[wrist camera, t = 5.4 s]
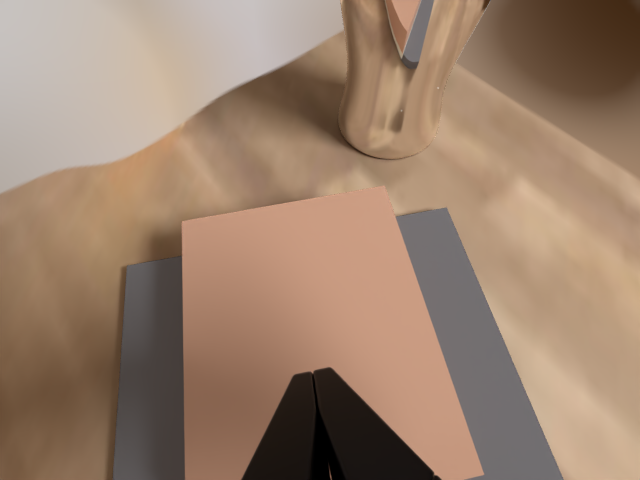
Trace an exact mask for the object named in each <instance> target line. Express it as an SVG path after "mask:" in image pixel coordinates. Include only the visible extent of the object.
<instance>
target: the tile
mask: <svg viewBox="0 0 640 480" xmlns="http://www.w3.org/2000/svg"><path fill="white" fill-rule="evenodd" d="M182 283H183V360H184V438H185V480H241V479H242V477H243V475H244V473H245V471H246V469H247V467H248V465H249V463H250V461H251V459H252V457H253V455H254V453H255V451H256V449H257V447H258V445H259V443H260V441H261V439H262V437H263V435H264V433H265V431H266V429H267V427H268V425H269V423H270V421H271V419H272V417H273V415H274V413H275V411H276V409H277V407H278V405H279V403H280V401H281V399H282V396H283V394H284V392H285V390H286V388H287V386H288V384H289V382H290V380H291V378H292V376H293V375H294V374H297V373H302V372H307V371H311V372H312V373H313V371H314V370H317V369H321V368H326V367H331V368H333V369H334V370H335V371H336V372H337V373H338V374H339V375H340V376H341V377H342V378H343V380H344V381H345V382H346V383H347V384H348V385H349V386H350V387H351V388H352V389H353V390H354V391H355V392H356V393H357V394H358V395H359V396H360V397H361V398H362V399H363V400H364V401H365V402H366V403H367V404H368V405H369V406H370V407H371V408H372V409H373V410H374V411H375V412H376V413H377V414H378V415H379V416H380V417H381V418H382V419H383V420H384V421H385V422H386V423H387V424H388V425H389V426H390V428H391V429H392V430H393V431H394V432H395V433H396V434H397V435H398V436H399V437H400V438H401V439H402V440H403V441H404V442H405V443H406V444H407V445H408V446H409V447H410V448H411V449H412V450H413V451H414V452H415V453H416V454H417V455H418V456H419V457H420V458H421V459H422V460H423V461H424V462H425V463H426V464H427V465H428V466H429V467H430V468H431V469H432V470H433V472H434V475H438V476H439V477H440V478H441V479H442V480H465V479H469V478H473V477H477V476H481V475H484V472H483V470H482V467H481V464H480V461H479V458H478V455H477V452H476V449H475V446H474V443H473V440H472V438H471V435H470V432H469V429H468V426H467V423H466V420H465V417H464V414H463V411H462V409H461V406H460V403H459V400H458V397H457V394H456V391H455V388H454V385H453V382H452V380H451V377H450V374H449V371H448V368H447V365H446V362H445V359H444V356H443V353H442V351H441V348H440V345H439V342H438V339H437V336H436V333H435V330H434V327H433V324H432V321H431V319H430V316H429V313H428V310H427V307H426V304H425V301H424V298H423V295H422V292H421V290H420V287H419V284H418V281H417V278H416V275H415V272H414V269H413V266H412V263H411V261H410V258H409V255H408V252H407V249H406V246H405V243H404V240H403V237H402V234H401V231H400V229H399V226H398V223H397V220H396V217H395V214H394V211H393V208H392V205H391V202H390V200H389V197H388V194H387V191H386V188H385V186H379V187H373V188H368V189H362V190H356V191H351V192H345V193H339V194H334V195H328V196H322V197H316V198H311V199H305V200H299V201H294V202H288V203H282V204H277V205H271V206H265V207H260V208H254V209H248V210H242V211H237V212H231V213H225V214H220V215H214V216H208V217H203V218H197V219H191V220H186V221H182ZM329 470H330V469H329ZM330 477H331V474H330ZM331 480H332V479H331Z"/></svg>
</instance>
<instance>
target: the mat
mask: <svg viewBox="0 0 640 480" xmlns="http://www.w3.org/2000/svg"><path fill="white" fill-rule="evenodd" d="M396 220H397V223H398V226H399V229H400V231H401V234H402V237H403V240H404V243H405V246H406V249H407V252H408V255H409V258H410V261H411V263H412V266H413V269H414V272H415V275H416V278H417V281H418V284H419V287H420V290H421V292H422V295H423V298H424V301H425V304H426V307H427V310H428V313H429V316H430V319H431V321H432V324H433V327H434V330H435V333H436V336H437V339H438V342H439V345H440V348H441V351H442V353H443V356H444V359H445V362H446V365H447V368H448V371H449V374H450V377H451V380H452V382H453V385H454V388H455V391H456V394H457V397H458V400H459V403H460V406H461V409H462V411H463V414H464V417H465V420H466V423H467V426H468V429H469V432H470V435H471V438H472V440H473V443H474V446H475V449H476V452H477V455H478V458H479V461H480V464H481V467H482V470H483V472H484V475H481V476H477V477H473V478H469V479H465V480H563V477H562V475H561V473H560V470H559V468H558V466H557V463H556V461H555V459H554V456H553V454H552V452H551V449H550V447H549V445H548V442H547V440H546V438H545V435H544V433H543V431H542V428H541V426H540V424H539V421H538V419H537V417H536V414H535V412H534V410H533V407H532V405H531V403H530V401H529V398H528V396H527V394H526V391H525V389H524V387H523V384H522V382H521V380H520V377H519V375H518V373H517V370H516V368H515V366H514V363H513V361H512V359H511V356H510V354H509V352H508V349H507V347H506V345H505V342H504V340H503V338H502V335H501V333H500V331H499V328H498V326H497V324H496V321H495V319H494V317H493V314H492V312H491V310H490V307H489V305H488V303H487V300H486V298H485V296H484V294H483V291H482V289H481V287H480V284H479V282H478V280H477V277H476V275H475V273H474V270H473V268H472V266H471V263H470V261H469V259H468V256H467V254H466V252H465V249H464V247H463V245H462V242H461V240H460V238H459V235H458V233H457V231H456V228H455V226H454V224H453V221H452V219H451V217H450V214H449V212H448V210H447V208H442V209H436V210H431V211H425V212H420V213H414V214H409V215H403V216H398V217H396ZM113 480H185V438H184V360H183V283H182V256H178V257H173V258H167V259H162V260H156V261H151V262H145V263H140V264H134V265H129V266H127V273H126V288H125V303H124V318H123V333H122V348H121V363H120V378H119V393H118V408H117V423H116V438H115V453H114V468H113Z"/></svg>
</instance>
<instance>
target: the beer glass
mask: <svg viewBox="0 0 640 480" xmlns="http://www.w3.org/2000/svg"><path fill="white" fill-rule="evenodd" d="M490 1H491V0H340V4H341V11H342V18H343V25H344V32H345V41H346V50H347V76H346V83H345V88H344V92H343V96H342V100H341V103H340V108H339V113H338V124H339V128H340V131H341V133H342V135H343V137H344V138H345V139H346V141H347V142H348V143H349V144H350V145H351V146H353V147H354V148H355V149H357V150H359V151H360V152H362V153H365V154H367V155H370V156H373V157H377V158H383V159H399V158H405V157H409V156H412V155H415V154H417V153H419V152H421V151H422V150H424V149H425V148H427V147H428V146H429V145H430V144H431V142H432V141H433V139H434V138H435V136H436V134H437V131H438V128H439V123H440V117H441V108H442V100H443V94H444V90H445V87H446V83H447V80H448V78H449V76H450V73H451V71H452V69H453V67H454V65H455V63H456V61H457V59H458V58H459V56H460V54H461V52H462V50H463V48H464V47H465V45H466V43H467V41H468V40H469V38H470V36H471V34H472V33H473V31H474V29H475V27H476V26H477V24H478V22H479V20H480V19H481V17H482V15H483V13H484V12H485V10H486V8H487V6H488V4H489V2H490Z"/></svg>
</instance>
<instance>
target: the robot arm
mask: <svg viewBox="0 0 640 480" xmlns="http://www.w3.org/2000/svg"><path fill="white" fill-rule="evenodd" d="M329 469H330V470H329ZM330 474H331V477H330ZM331 479H332V480H442V479H441V478H440V477H439V476H438V475H434V472H433V470H432V469H431V468H430V467H429V466H428V465H427V464H426V463H425V462H424V461H423V460H422V459H421V458H420V457H419V456H418V455H417V454H416V453H415V452H414V451H413V450H412V449H411V448H410V447H409V446H408V445H407V444H406V443H405V442H404V441H403V440H402V439H401V438H400V437H399V436H398V435H397V434H396V433H395V432H394V431H393V430H392V429H391V428H390V426H389V425H388V424H387V423H386V422H385V421H384V420H383V419H382V418H381V417H380V416H379V415H378V414H377V413H376V412H375V411H374V410H373V409H372V408H371V407H370V406H369V405H368V404H367V403H366V402H365V401H364V400H363V399H362V398H361V397H360V396H359V395H358V394H357V393H356V392H355V391H354V390H353V389H352V388H351V387H350V386H349V385H348V384H347V383H346V382H345V381H344V380H343V378H342V377H341V376H340V375H339V374H338V373H337V372H336V371H335V370H334V369H333V368H331V367H326V368H321V369H317V370H314V371H313V373H312V372H311V371H307V372H302V373H297V374H294V375H293V376H292V378H291V380H290V382H289V384H288V386H287V388H286V390H285V392H284V394H283V396H282V399H281V401H280V403H279V405H278V407H277V409H276V411H275V413H274V415H273V417H272V419H271V421H270V423H269V425H268V427H267V429H266V431H265V433H264V435H263V437H262V439H261V441H260V443H259V445H258V447H257V449H256V451H255V453H254V455H253V457H252V459H251V461H250V463H249V465H248V467H247V469H246V471H245V473H244V475H243V477H242V479H241V480H331Z"/></svg>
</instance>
